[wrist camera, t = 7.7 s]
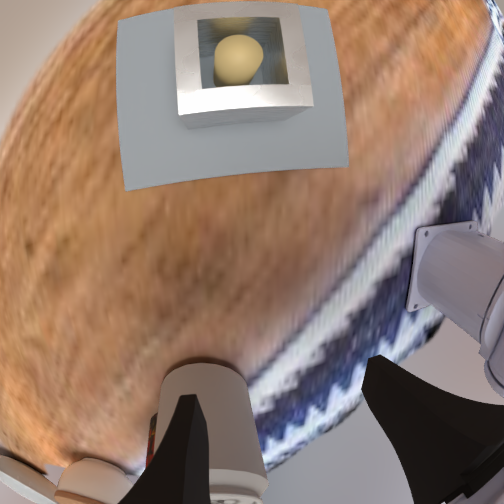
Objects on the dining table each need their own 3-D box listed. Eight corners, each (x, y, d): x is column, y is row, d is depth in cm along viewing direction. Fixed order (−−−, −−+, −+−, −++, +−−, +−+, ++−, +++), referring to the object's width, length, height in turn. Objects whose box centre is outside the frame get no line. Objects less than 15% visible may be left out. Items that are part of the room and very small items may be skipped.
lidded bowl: (102, 445, 24) (89, 515, 13) (160, 483, 28) (159, 540, 18) (51, 447, 23) (35, 501, 13) (105, 484, 28) (99, 532, 18)
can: (155, 355, 20) (135, 489, 9) (248, 353, 21) (281, 487, 10) (169, 411, 22) (165, 520, 11) (245, 409, 23) (268, 517, 12)
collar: (274, 41, 13) (297, 4, 8) (283, 121, 15) (313, 106, 10) (182, 46, 12) (173, 7, 8) (188, 129, 14) (178, 114, 10)
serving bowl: (66, 497, 32) (63, 517, 25) (-4, 456, 25) (-10, 474, 19) (78, 485, 29) (74, 511, 22) (-11, 431, 22) (-21, 454, 16)
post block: (321, 14, 13) (352, -17, 9) (342, 166, 17) (384, 171, 13) (122, 26, 12) (99, -7, 7) (130, 189, 16) (101, 201, 11)
